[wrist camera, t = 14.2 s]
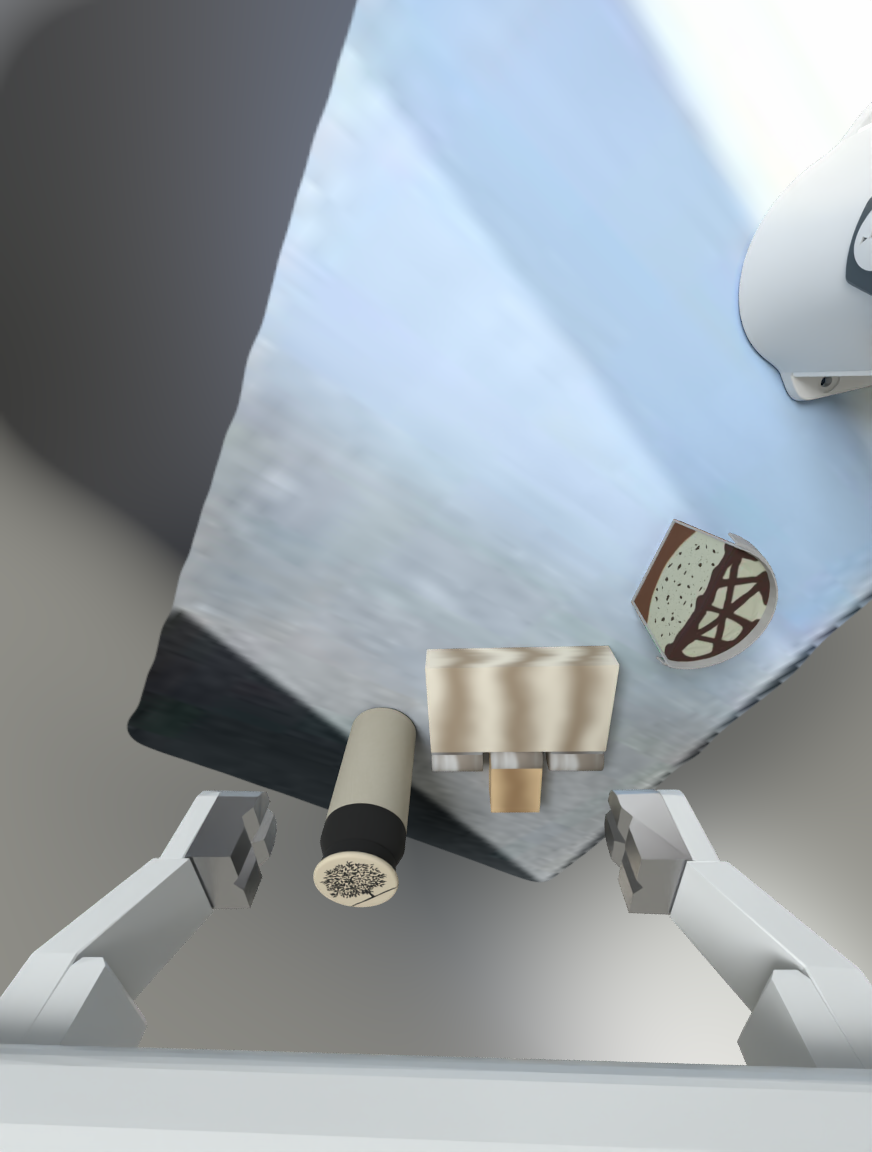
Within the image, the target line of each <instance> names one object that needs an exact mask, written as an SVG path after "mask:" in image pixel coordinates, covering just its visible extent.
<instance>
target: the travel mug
mask: <svg viewBox="0 0 872 1152" xmlns="http://www.w3.org/2000/svg"><path fill="white" fill-rule="evenodd" d="M415 740H416V730H415V727H414V725H413V723H412V722H411V720H410V719H409V718H408V717H407V716H405V715H404V714H402V713H401V712H399V711H396V710H393V709H389V708H374V709H370V710H367V711H365V712H363V713H361V714H360V715H359V716H358V717H357V718H356V719H355V720H354V722H353V725H352V728H351V732H350V736H349V739H348V743H347V746H346V750H345V753H344V757H343V761H342V764H341V768H340V771H339V775H338V778H337V782H336V785H335V789H334V793H333V796H332V800H331V803H330V807H329V810H328V814H327V818H326V821H325V825H324V828H323V832H322V835H321V840H320V843H321V849H322V853H323V858H322V860H321V861H320V862H319V864H318V865H317V866H316V868H315V871H314V882H315V885H316V887H317V888H318V890H319V891H320V892H321V893H322V894H323V895H324V896H326V897H327V898H329V899H330V900H332V901H334V902H337V903H340V904H343V905H347V906H353V907H370V906H375V905H379V904H381V903H384V902H386V901H387V900H389V899H390V898H391V897H392V896H393V895H394V894H395V892H396V891H397V888H398V876H397V874H396V866H397V864H398V863H399V861H400V860H401V858H402V857H403V854H404V850H405V840H406V830H407V820H408V810H409V800H410V790H411V780H412V770H413V760H414V750H415Z"/></svg>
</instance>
